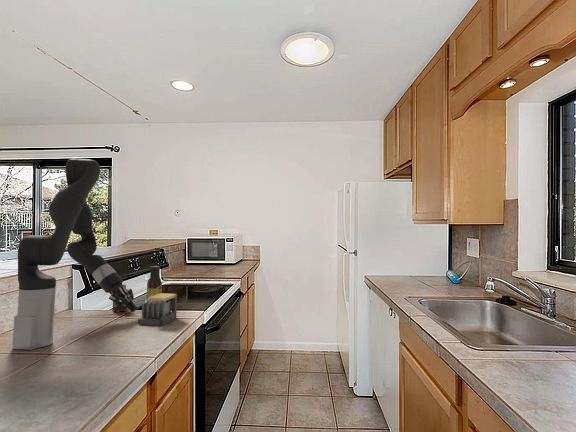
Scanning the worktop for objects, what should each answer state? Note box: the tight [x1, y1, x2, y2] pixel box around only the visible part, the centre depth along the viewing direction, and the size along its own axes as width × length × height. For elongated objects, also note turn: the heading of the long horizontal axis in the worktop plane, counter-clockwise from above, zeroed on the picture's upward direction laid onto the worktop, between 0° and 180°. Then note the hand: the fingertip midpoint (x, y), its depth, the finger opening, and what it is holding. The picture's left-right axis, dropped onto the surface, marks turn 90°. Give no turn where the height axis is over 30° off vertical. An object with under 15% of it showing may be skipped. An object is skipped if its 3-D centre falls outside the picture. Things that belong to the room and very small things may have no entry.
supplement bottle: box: [112, 284, 128, 312], centre depth 153 cm, size 6×6×11 cm
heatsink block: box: [141, 300, 172, 319], centre depth 136 cm, size 6×9×8 cm, turn 84°
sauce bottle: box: [145, 265, 163, 303], centre depth 152 cm, size 6×6×20 cm
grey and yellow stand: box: [137, 292, 178, 327], centre depth 136 cm, size 11×10×10 cm
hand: (134, 310), depth 137 cm, fingers closed
